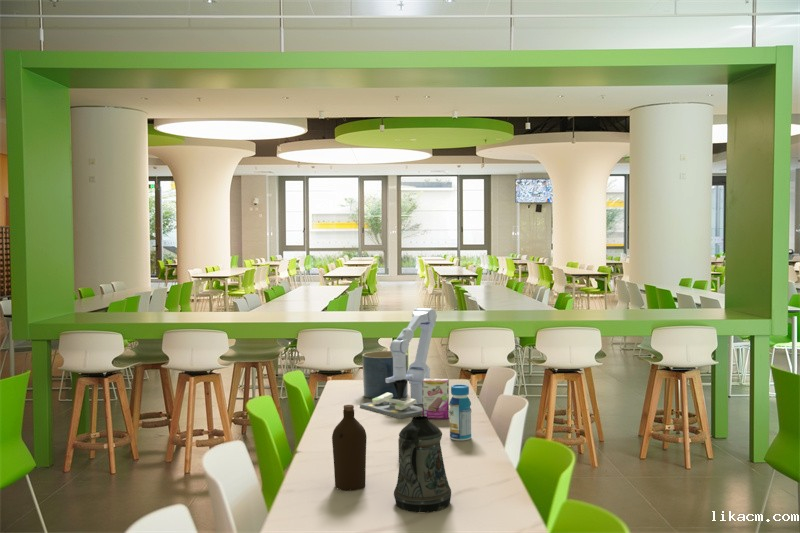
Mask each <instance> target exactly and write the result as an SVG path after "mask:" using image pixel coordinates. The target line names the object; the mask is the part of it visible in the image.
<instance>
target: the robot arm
mask: <svg viewBox="0 0 800 533" xmlns="http://www.w3.org/2000/svg"><path fill="white" fill-rule="evenodd" d="M411 313H412V314H411V315H412V316H411V317H412V318H411V320H410V321H409V323H408V325H407V327H404V328H402V330H401V332H400V333H399V335H398V336H397V338H395V339H393V340H392V341H391V342H390V346H389V351H391V353H392V356H393V376H392V377H389V378H385V380H386V383H390V382H392V383H393V385H394V387H395V389H396V392H397V396H398V397H403V393H404V389H405V387H406V385H407V381H406V380H408V383H409V384H410V385H409V386H410V398H412V399H416V401H417V403H416V404H415V406H417V405H418V406H419V405H423V385H422V382H423V379H431V374H430V373H431V372H430V371H431V368H430V366H429V365H428V364H427V359H428V354H429V350H430V344H431V341H432V335H433V331H434V328H435V327H436V323H437V322H436V321H437V316H438V315H437V312H436V310H435V309H434V308H426V307H425V308H424V307H423V308H422V307H421V308H419V307H415V308H414V309H413V312H411ZM418 327H419V328H420V330H421V331H420V336H419V339H418V345H417V350H416V353H415V354H416V355H415V360H414V361H413V362H412V363H410V364H409V365H408V371H407V374H406V353H408V350H409V345H410V342H412V339H413V338H414V336H415V334H414V332H416V330H417V328H418ZM403 398H404V397H403Z"/></svg>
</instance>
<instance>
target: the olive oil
mask: <svg viewBox="0 0 800 533" xmlns="http://www.w3.org/2000/svg"><path fill="white" fill-rule="evenodd" d="M354 408H355V406H354V405H353V404H345V405H343V410H342V414H343V416H342V419H341V420H340V422H339V423H337V425H336V426H335V427H334V429H333V430H332V431H333V432H332V436H331V442H332V456H333V471H334V486H335V489H337V488H338V490H340V489H341V491H358V490H361V489H363V488H365V487H366V479H367V478H366V477H367V476H366V473H367V471H366V467H367V466H366V463H367V437H368V436H367V432H366V429H365V427H364V426H363V425H362V424H361V422H359V421H358V420H357V419H356V417H355V409H354ZM357 489H358V490H357Z"/></svg>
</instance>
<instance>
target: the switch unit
mask: <svg viewBox="0 0 800 533" xmlns="http://www.w3.org/2000/svg"><path fill="white" fill-rule="evenodd" d="M395 405H396V403H391V402H386V401H384V402H382V403H380V404H374V403H373V402H372V401H370V402H365V403H359V408H362V409H365V410H369V411H372V412H376V413H379V414H381V415H385V416H386V415H387V416H391V417H394V418H398V419H400V420H401V419H407V418H410V417H411V418H413V417H415V416H423V406H419V405H418V406H417V405H415V404H413V405H411V406H409V407H407V408H405V409H403V410H398V409H395Z"/></svg>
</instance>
